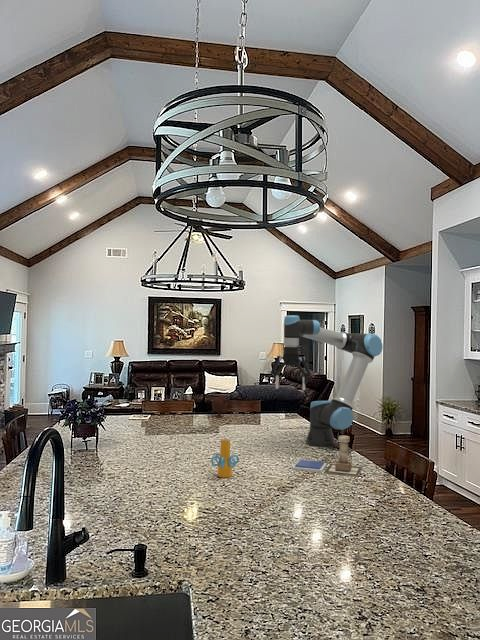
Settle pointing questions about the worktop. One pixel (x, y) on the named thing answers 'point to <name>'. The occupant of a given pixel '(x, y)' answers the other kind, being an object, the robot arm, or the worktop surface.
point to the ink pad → (310, 466)
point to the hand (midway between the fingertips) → (290, 389)
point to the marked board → (353, 472)
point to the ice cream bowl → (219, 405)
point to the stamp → (343, 455)
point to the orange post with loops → (225, 460)
